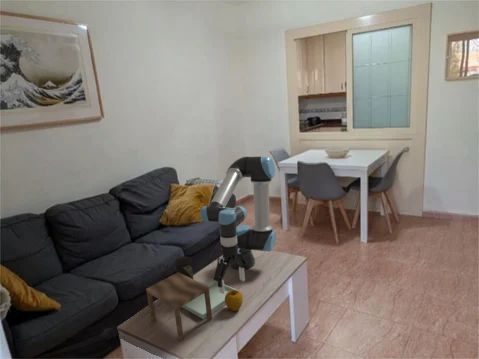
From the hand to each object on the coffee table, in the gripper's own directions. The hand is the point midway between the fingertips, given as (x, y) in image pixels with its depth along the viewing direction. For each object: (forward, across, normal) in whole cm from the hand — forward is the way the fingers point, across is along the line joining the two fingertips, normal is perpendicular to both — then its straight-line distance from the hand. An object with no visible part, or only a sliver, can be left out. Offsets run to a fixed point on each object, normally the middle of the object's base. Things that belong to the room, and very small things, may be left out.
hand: (232, 286), depth 155 cm
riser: (+12, +20, -14) cm, 28 cm away
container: (+12, +6, -29) cm, 32 cm away
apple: (+12, 0, 0) cm, 12 cm away
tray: (+12, +2, -14) cm, 19 cm away
